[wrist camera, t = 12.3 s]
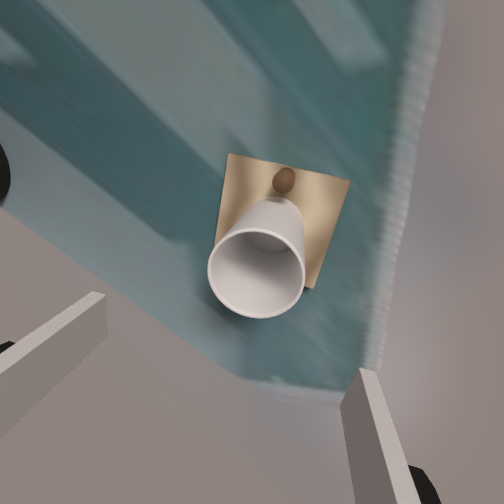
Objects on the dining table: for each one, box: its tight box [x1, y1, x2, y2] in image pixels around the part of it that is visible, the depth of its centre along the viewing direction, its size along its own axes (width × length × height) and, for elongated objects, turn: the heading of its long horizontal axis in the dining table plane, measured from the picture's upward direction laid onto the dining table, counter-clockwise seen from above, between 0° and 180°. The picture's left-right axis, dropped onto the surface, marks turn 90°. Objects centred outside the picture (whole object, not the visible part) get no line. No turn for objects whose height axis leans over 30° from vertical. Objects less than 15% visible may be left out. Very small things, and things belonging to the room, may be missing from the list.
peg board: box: [214, 153, 351, 289], centre depth 34 cm, size 16×16×8 cm
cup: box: [208, 196, 305, 318], centre depth 28 cm, size 8×8×16 cm
